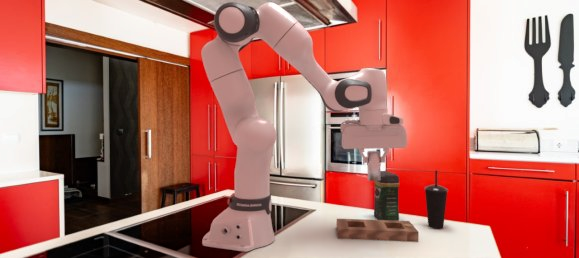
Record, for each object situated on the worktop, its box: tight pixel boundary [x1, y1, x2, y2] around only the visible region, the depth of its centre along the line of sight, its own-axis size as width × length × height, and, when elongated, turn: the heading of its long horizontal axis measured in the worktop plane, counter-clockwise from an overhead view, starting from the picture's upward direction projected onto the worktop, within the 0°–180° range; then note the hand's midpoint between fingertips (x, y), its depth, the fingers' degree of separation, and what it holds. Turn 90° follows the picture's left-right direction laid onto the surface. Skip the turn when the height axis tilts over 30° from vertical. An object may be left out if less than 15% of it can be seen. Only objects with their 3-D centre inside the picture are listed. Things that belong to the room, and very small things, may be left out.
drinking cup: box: [424, 170, 449, 230], centre depth 107 cm, size 8×8×20 cm
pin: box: [366, 150, 381, 182], centre depth 98 cm, size 4×4×9 cm
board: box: [336, 218, 419, 243], centre depth 98 cm, size 24×10×4 cm, turn 84°
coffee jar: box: [373, 170, 400, 221], centre depth 114 cm, size 10×8×19 cm
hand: (374, 162), depth 97 cm, fingers closed on pin, 4 cm apart
